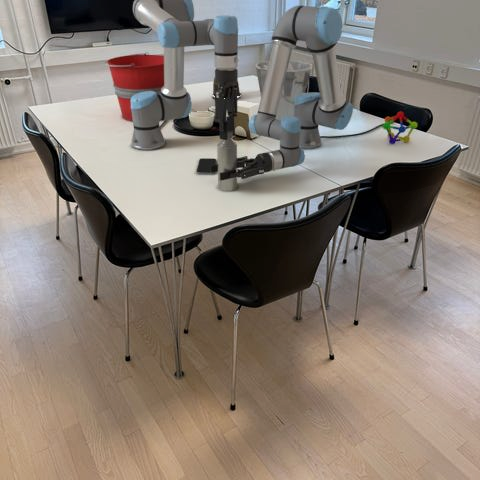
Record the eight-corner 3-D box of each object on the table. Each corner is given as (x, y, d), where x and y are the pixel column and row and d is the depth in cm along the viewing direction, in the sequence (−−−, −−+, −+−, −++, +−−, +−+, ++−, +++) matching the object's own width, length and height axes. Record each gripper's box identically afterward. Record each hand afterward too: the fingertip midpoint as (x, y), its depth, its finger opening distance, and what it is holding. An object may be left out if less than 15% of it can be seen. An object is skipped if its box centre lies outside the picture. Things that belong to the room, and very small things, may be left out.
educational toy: (377, 146, 209) (379, 114, 202) (384, 138, 219) (386, 107, 211) (411, 149, 202) (415, 116, 195) (417, 141, 212) (420, 109, 204)
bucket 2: (281, 130, 226) (284, 73, 211) (242, 117, 244) (243, 64, 230) (319, 119, 242) (324, 65, 228) (280, 107, 261) (283, 57, 246)
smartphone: (196, 172, 178) (199, 158, 191) (196, 173, 178) (199, 159, 191) (214, 172, 178) (216, 158, 191) (214, 174, 178) (216, 159, 191)
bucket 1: (121, 106, 263) (114, 51, 247) (180, 106, 262) (176, 52, 246) (104, 123, 233) (95, 63, 217) (170, 124, 232) (166, 64, 216)
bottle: (239, 189, 167) (240, 134, 155) (222, 192, 164) (221, 136, 153) (232, 182, 172) (232, 128, 161) (215, 185, 170) (214, 130, 158)
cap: (224, 134, 160) (224, 128, 159) (234, 136, 159) (234, 130, 158) (219, 137, 157) (219, 131, 156) (229, 139, 156) (229, 133, 154)
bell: (227, 105, 294) (202, 96, 282) (238, 66, 289) (213, 55, 277) (243, 108, 280) (217, 98, 268) (255, 66, 275) (229, 55, 263)
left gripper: (223, 74, 137) (224, 146, 150) (247, 64, 151) (246, 131, 163) (202, 72, 140) (205, 143, 152) (228, 62, 154) (228, 128, 166)
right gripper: (282, 180, 167) (228, 192, 157) (254, 162, 181) (204, 172, 172) (283, 161, 163) (227, 173, 153) (255, 144, 177) (203, 154, 168)
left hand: (227, 137), depth 158 cm, fingers open, 5 cm apart
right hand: (215, 173), depth 163 cm, fingers closed on bottle, 7 cm apart
